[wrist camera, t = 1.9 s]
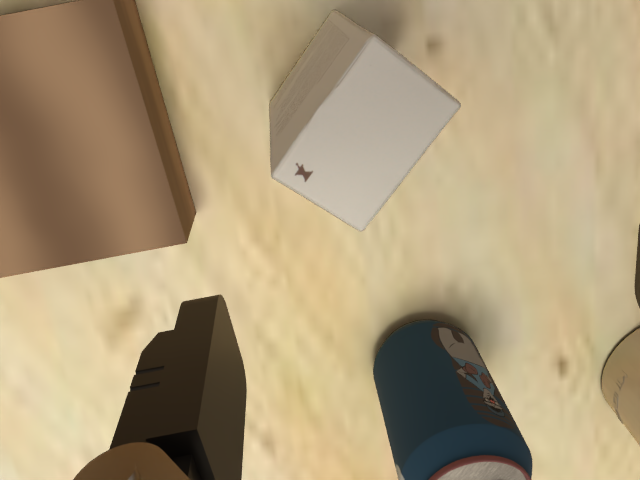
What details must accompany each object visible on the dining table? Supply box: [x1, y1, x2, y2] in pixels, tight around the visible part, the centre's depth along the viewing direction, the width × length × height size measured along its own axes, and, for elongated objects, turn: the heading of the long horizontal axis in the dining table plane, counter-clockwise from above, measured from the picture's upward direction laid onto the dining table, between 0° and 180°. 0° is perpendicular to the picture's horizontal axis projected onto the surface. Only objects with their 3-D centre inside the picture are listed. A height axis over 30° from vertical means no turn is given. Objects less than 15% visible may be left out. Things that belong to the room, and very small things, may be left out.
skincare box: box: [269, 10, 461, 231], centre depth 26 cm, size 6×4×12 cm
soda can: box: [373, 320, 532, 480], centre depth 34 cm, size 7×7×12 cm
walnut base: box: [0, 0, 196, 278], centre depth 29 cm, size 12×12×4 cm
